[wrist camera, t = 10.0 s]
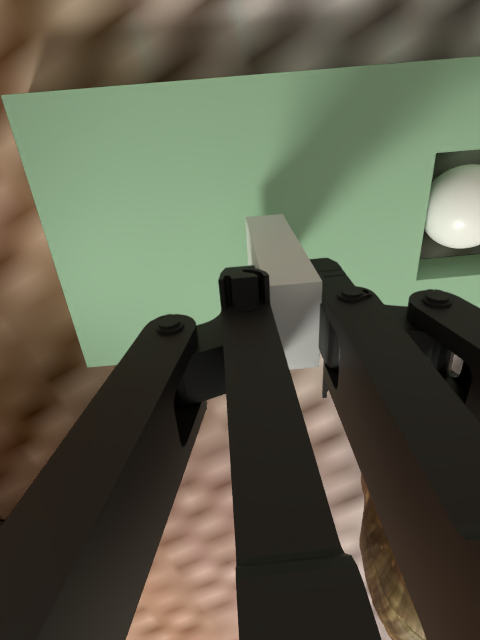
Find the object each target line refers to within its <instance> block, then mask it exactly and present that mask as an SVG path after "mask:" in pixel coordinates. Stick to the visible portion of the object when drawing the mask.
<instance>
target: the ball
mask: <svg viewBox="0 0 480 640" xmlns="http://www.w3.org/2000/svg"><path fill="white" fill-rule="evenodd" d="M424 230H425V231H426V233H427V234H428V235H429V236H430V237H431V238H432V239H433V240H434V241H436V242H437V243H439V244H441V245H443V246H446V247H450V248H462V249H463V248H470V247H474V246H478V245H480V165H476V164H468V165H461V166H457V167H454V168H452V169H449V170H447V171H445V172H444V173H442V174H441V175H439V176H438V177H437V178H436V179H435V180H434V181H433V182H432V183H431V189H430V195H429V201H428V208H427V214H426V221H425V227H424Z"/></svg>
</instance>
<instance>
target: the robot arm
mask: <svg viewBox="0 0 480 640" xmlns="http://www.w3.org/2000/svg"><path fill="white" fill-rule="evenodd" d="M245 221H246V237H247V254H248V266H238V267H227V268H225V269H224V270H223V271H222V272H221V273H220V277H219V279H218V284H219V293H220V303H221V312H220V314H219V315H218V316H217V317H216V318H214V319H212V320H211V321H209V322H206V323H203V324H199V325H196V322H195V321H194V319H193V318H191V317H189V316H187V315H181V314H167V315H165V316H164V315H163V316H159V317H158V318H156V319H154V320H152V321H150V322H149V323H148V324H147V325H146V326H145V327H144V328H143V330H142V331H141V332H140V334H139V335H138V337H137V338H136V339H135V341H134V342H133V343H132V345H131V346H130V348H129V349H128V350H127V352H126V353H125V355H124V356H123V357H122V359H121V360H120V362H119V363H118V364H117V366H116V367H115V369H114V370H113V371H112V373H111V374H110V376H109V377H108V378H107V380H106V381H105V383H104V384H103V385H102V387H101V388H100V389H99V391H98V392H97V394H96V395H95V396H94V398H93V399H92V401H91V402H90V403H89V405H88V406H87V408H86V409H85V410H84V412H83V413H82V415H81V416H80V417H79V419H78V420H77V422H76V423H75V424H74V426H73V427H72V429H71V430H70V431H69V433H68V434H67V435H66V437H65V438H64V440H63V441H62V442H61V444H60V445H59V447H58V448H57V449H56V451H55V452H54V454H53V455H52V456H51V458H50V459H49V461H48V462H47V463H46V465H45V466H44V468H43V469H42V470H41V472H40V473H39V475H38V476H37V477H36V479H35V480H34V481H33V483H32V484H31V486H30V487H29V488H28V490H27V491H26V493H25V494H24V495H23V497H22V498H21V500H20V501H19V502H18V504H17V505H16V507H15V508H14V509H13V511H12V512H11V514H10V515H9V516H8V518H7V519H6V521H5V522H2V521H0V640H126V637H127V634H128V631H129V628H130V625H131V623H132V620H133V617H134V614H135V611H136V608H137V605H138V603H139V600H140V597H141V594H142V591H143V588H144V586H145V583H146V580H147V577H148V574H149V571H150V568H151V566H152V563H153V560H154V557H155V554H156V551H157V548H158V546H159V543H160V540H161V537H162V534H163V531H164V528H165V526H166V523H167V520H168V517H169V514H170V511H171V508H172V506H173V503H174V500H175V497H176V494H177V491H178V488H179V486H180V483H181V480H182V477H183V474H184V471H185V468H186V466H187V463H188V460H189V457H190V454H191V451H192V448H193V446H194V443H195V440H196V437H197V434H198V431H199V429H200V426H201V423H202V420H203V417H204V414H205V411H206V409H207V400H208V399H211V398H214V397H217V396H220V395H223V394H226V398H227V414H228V430H229V447H230V463H231V479H232V496H233V512H234V528H235V545H236V590H237V609H238V626H239V640H381V637H380V633H379V630H378V627H377V624H376V621H375V618H374V614H373V611H372V608H371V605H370V602H369V599H368V595H367V592H366V589H365V586H364V583H363V580H362V577H361V575H360V572H359V569H358V567H357V564H356V563H355V561H354V559H353V558H352V556H351V555H348V554H345V553H344V551H343V549H342V547H341V544H340V541H339V538H338V535H337V532H336V528H335V525H334V521H333V518H332V514H331V511H330V507H329V504H328V501H327V497H326V494H325V490H324V487H323V483H322V480H321V477H320V473H319V470H318V466H317V463H316V459H315V456H314V453H313V449H312V446H311V442H310V439H309V435H308V432H307V428H306V425H305V422H304V418H303V415H302V411H301V408H300V404H299V401H298V398H297V394H296V391H295V387H294V384H293V380H292V377H291V374H290V370H289V369H300V368H311V367H319V361H320V352H321V355H322V357H323V359H324V367H323V390H322V394H323V398H327V391H328V390H329V392H330V394H331V397H332V399H333V402H334V404H335V407H336V409H337V412H338V415H339V417H340V420H341V422H342V425H343V427H344V430H345V432H346V435H347V437H348V440H349V442H350V445H351V448H352V450H353V453H354V455H355V458H356V460H357V463H358V465H359V468H360V470H361V473H362V476H363V478H364V481H365V483H366V486H367V488H368V491H369V493H370V496H371V498H372V501H373V504H374V506H375V509H376V511H377V514H378V516H379V519H380V521H381V524H382V526H383V529H384V531H385V534H386V537H387V539H388V542H389V544H390V547H391V549H392V552H393V554H394V557H395V559H396V562H397V565H398V567H399V570H400V572H401V575H402V577H403V580H404V582H405V585H406V587H407V590H408V592H409V595H410V598H411V600H412V603H413V605H414V608H415V610H416V613H417V615H418V618H419V620H420V623H421V626H422V628H423V631H424V634H425V637H426V640H480V308H479V307H477V306H475V305H473V304H471V303H470V302H468V301H466V300H464V299H462V298H461V297H459V296H456V295H454V294H452V293H449V292H444V291H442V290H437V289H435V290H433V289H427V290H422V291H417V292H415V293H412V294H411V295H410V297H409V300H408V306H394V305H385V304H383V302H382V301H381V300H380V299H379V297H378V296H377V295H376V294H375V293H374V292H372V291H371V290H369V289H367V288H364V287H358V286H355V285H354V284H353V283H352V281H351V280H350V278H349V277H348V276H346V273H345V272H344V270H342V268H341V266H340V265H339V264H338V262H336V261H334V260H332V259H330V258H317V259H309V258H308V256H307V254H306V253H305V251H304V249H303V248H302V246H301V244H300V243H299V241H298V239H297V237H296V236H295V234H294V232H293V231H292V229H291V227H290V226H289V224H288V222H287V220H286V219H285V217H284V215H283V214H276V215H264V216H252V217H245ZM454 354H455V355H457V356H458V357H460V358H461V359H462V360H464V362H463V366H462V370H461V373H460V375H458V374H456V373H455V372H453V371H452V370H451V365H452V361H453V357H454Z"/></svg>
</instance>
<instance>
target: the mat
mask: <svg viewBox="0 0 480 640" xmlns="http://www.w3.org/2000/svg"><path fill="white" fill-rule="evenodd" d="M1 97H2V101H3V104H4V107H5V110H6V113H7V116H8V119H9V123H10V126H11V129H12V132H13V135H14V138H15V141H16V145H17V148H18V151H19V154H20V157H21V160H22V163H23V167H24V170H25V173H26V176H27V179H28V182H29V185H30V189H31V192H32V195H33V198H34V201H35V204H36V207H37V211H38V214H39V217H40V220H41V223H42V226H43V229H44V233H45V236H46V239H47V242H48V245H49V248H50V251H51V255H52V258H53V261H54V264H55V267H56V270H57V273H58V277H59V280H60V283H61V286H62V289H63V292H64V296H65V299H66V302H67V305H68V308H69V311H70V314H71V318H72V321H73V324H74V327H75V330H76V333H77V336H78V340H79V343H80V346H81V349H82V352H83V355H84V358H85V362H86V365H87V368H88V367H99V366H110V365H117V364H118V363H119V362H120V360H121V359H122V357H123V356H124V355H125V353H126V352H127V350H128V349H129V348H130V346H131V345H132V343H133V342H134V341H135V339H136V338H137V337H138V335H139V334H140V332H141V331H142V330H143V328H144V327H145V326H146V325H147V324H148V323H149V322H150V321H152V320H154V319H156V318H158V317H159V316H163V315H164V316H165V315H167V314H181V315H187V316H189V317H191V318H193V319H194V321H195V322H196V325H199V324H203V323H206V322H209V321H211V320H212V319H214V318H216V317H217V316H218V315H219V314H220V312H221V303H220V293H219V284H218V279H219V277H220V273H221V272H222V271H223V270H224V269H225V268H227V267H238V266H248V254H247V237H246V221H245V217H252V216H264V215H276V214H283V215H284V217H285V219H286V220H287V222H288V224H289V226H290V227H291V229H292V231H293V232H294V234H295V236H296V237H297V239H298V241H299V243H300V244H301V246H302V248H303V249H304V251H305V253H306V254H307V256H308V258H309V259H317V258H330V259H332V260H334V261H336V262H338V264H339V265H340V266H341V268H342V270H344V272H345V273H346V276H348V277H349V278H350V280H351V281H352V283H353V284H354V285H355V286H358V287H364V288H367V289H369V290H371V291H372V292H374V293H375V294H376V295H377V296H378V297H379V299H380V300H381V301H382V302H383V304H385V305H394V306H408V300H409V297H410V295H411V294H412V293H415V292H417V291H422V290H427V289H433V290H435V289H437V290H442V291H444V292H449V293H452V294H454V295H456V296H459V297H461V298H462V299H464V300H466V301H468V302H470V303H471V304H473V305H475V306H477V307H479V308H480V254H475V255H464V256H453V257H441V258H430V259H420V252H421V246H422V240H423V233H424V227H425V221H426V214H427V208H428V201H429V195H430V189H431V182H432V176H433V170H434V163H435V157H436V153H443V152H455V151H466V150H478V149H480V56H477V57H465V58H453V59H440V60H428V61H416V62H403V63H391V64H379V65H367V66H354V67H342V68H330V69H317V70H305V71H293V72H281V73H268V74H256V75H244V76H231V77H219V78H207V79H194V80H182V81H170V82H158V83H145V84H133V85H121V86H108V87H96V88H84V89H71V90H59V91H47V92H35V93H22V94H10V95H1Z"/></svg>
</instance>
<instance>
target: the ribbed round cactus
mask: <svg viewBox="0 0 480 640" xmlns="http://www.w3.org/2000/svg"><path fill="white" fill-rule="evenodd" d="M361 484H362V490H363V493H364V512H363V519H362V527H361V534H360V550H361V554H362V561H363V566H364V571H365V577H366V581H367V585H368V588H369V592H370V595H371V598H372V603H373V606H374V607H375V609H376V612H377V615H378V616H379V618H380V620H381V622H382V623H383V625H384V627H385V629H386V631H387V633H388V635H389V636H390V638H391V639H392V640H426V637H425V634H424V631H423V628H422V626H421V623H420V620H419V618H418V615H417V613H416V610H415V608H414V605H413V603H412V600H411V598H410V595H409V592H408V590H407V587H406V585H405V582H404V580H403V577H402V575H401V572H400V570H399V567H398V565H397V562H396V559H395V557H394V554H393V552H392V549H391V547H390V544H389V542H388V539H387V537H386V534H385V531H384V529H383V526H382V524H381V521H380V519H379V516H378V514H377V511H376V509H375V506H374V504H373V501H372V498H371V496H370V493H369V491H368V488H367V486H366V483H365V481H364V478H363V476H362V473H361Z"/></svg>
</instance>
